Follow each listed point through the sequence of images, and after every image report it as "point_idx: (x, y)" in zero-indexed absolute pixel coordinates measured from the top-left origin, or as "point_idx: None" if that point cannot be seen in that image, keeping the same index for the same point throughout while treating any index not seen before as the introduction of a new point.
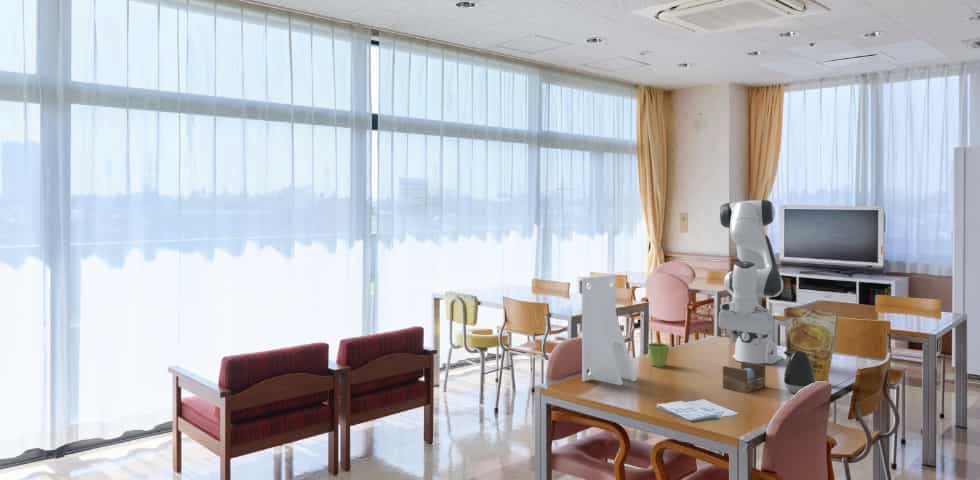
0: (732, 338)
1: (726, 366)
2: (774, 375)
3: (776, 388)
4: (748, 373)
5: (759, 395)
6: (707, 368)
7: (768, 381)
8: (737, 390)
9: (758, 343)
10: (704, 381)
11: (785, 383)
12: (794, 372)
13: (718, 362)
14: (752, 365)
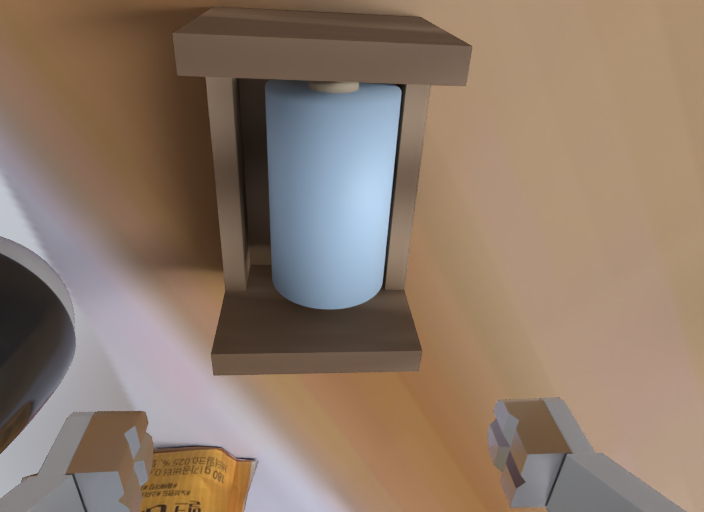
0: (551, 439)
1: (441, 77)
2: (342, 483)
3: (161, 282)
4: (281, 213)
5: (86, 10)
6: (679, 397)
7: (295, 381)
8: (286, 11)
9: (63, 451)
10: (613, 114)
11: (21, 264)
12: None
13: None
14: (317, 342)
